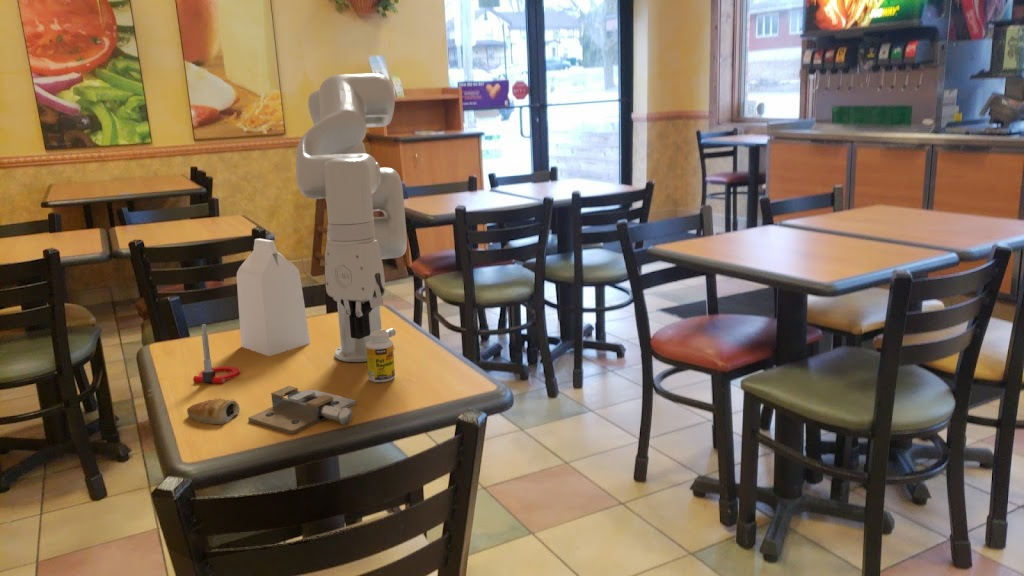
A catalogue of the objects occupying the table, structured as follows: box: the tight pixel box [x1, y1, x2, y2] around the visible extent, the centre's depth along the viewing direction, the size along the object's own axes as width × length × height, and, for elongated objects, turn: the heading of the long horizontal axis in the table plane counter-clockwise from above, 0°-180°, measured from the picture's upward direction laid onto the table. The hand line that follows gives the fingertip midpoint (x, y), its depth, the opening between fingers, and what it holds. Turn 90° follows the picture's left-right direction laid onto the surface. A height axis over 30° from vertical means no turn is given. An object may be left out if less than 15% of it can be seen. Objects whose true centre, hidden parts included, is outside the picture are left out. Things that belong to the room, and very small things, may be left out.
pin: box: [301, 400, 353, 426], centre depth 147 cm, size 3×13×3 cm, turn 57°
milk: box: [236, 237, 311, 357], centre depth 189 cm, size 12×12×26 cm
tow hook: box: [193, 323, 241, 385], centre depth 170 cm, size 8×13×9 cm
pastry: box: [186, 397, 241, 425], centre depth 150 cm, size 9×7×4 cm
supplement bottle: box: [366, 329, 396, 383], centre depth 166 cm, size 6×6×10 cm
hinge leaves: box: [248, 385, 357, 436], centre depth 150 cm, size 16×12×4 cm
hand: (360, 336), depth 137 cm, fingers closed
